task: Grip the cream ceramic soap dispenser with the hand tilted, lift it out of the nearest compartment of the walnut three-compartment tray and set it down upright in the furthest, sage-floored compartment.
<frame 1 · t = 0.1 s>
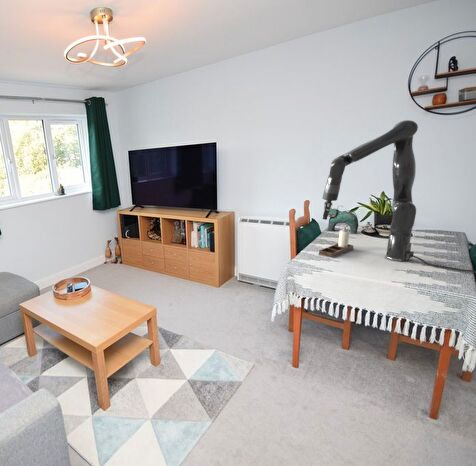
hand: (324, 217, 189), 22 cm above the table, tool pointing down, fingers open, 8 cm apart
dispenser: (342, 249, 196), resting on tray
tray: (336, 252, 193), on the table
ceramic cat: (341, 231, 231), on the table
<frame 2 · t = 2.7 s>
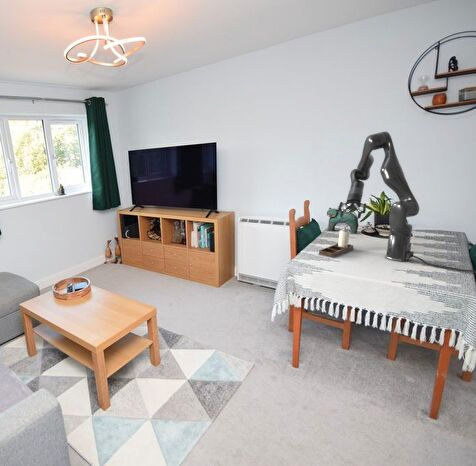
hand: (349, 217, 197), 19 cm above the table, tool tilted 40°, fingers open, 8 cm apart
nothing on the table moved.
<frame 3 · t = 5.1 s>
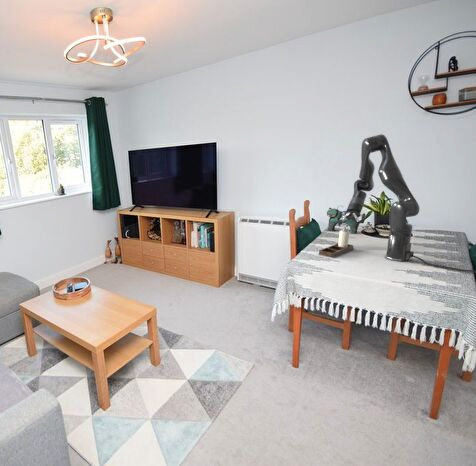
hand: (347, 226, 195), 14 cm above the table, tool tilted 45°, fingers open, 8 cm apart
nothing on the table moved.
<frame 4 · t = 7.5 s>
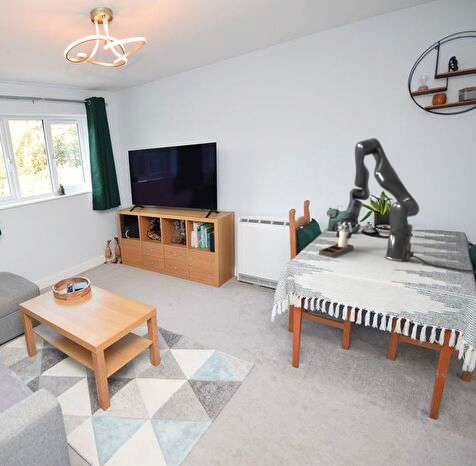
hand: (342, 237, 193), 9 cm above the table, tool tilted 45°, fingers closed on dispenser, 5 cm apart
dispenser: (342, 249, 196), resting on tray, touching gripper
everything else where it was.
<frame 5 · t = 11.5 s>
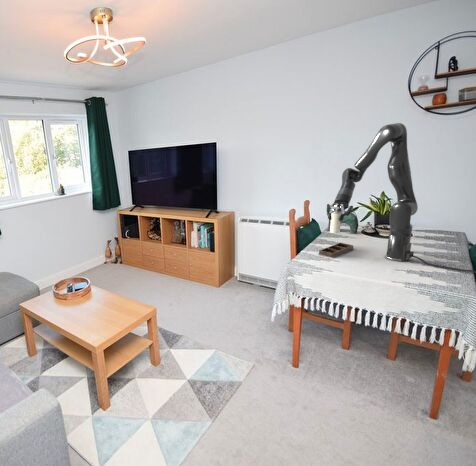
hand: (334, 219, 185), 22 cm above the table, tool tilted 45°, fingers closed on dispenser, 5 cm apart
dispenser: (334, 232, 188), point 14 cm above the table, touching gripper
everything else where it was.
when the fingers open (9 cm above the table, at t = 15.9 s): dispenser stays where it is, resting on tray.
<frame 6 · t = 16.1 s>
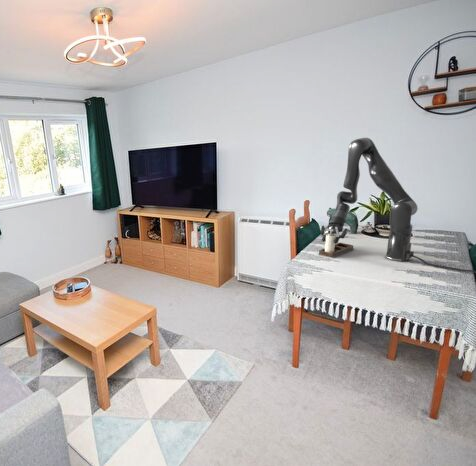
hand: (329, 242, 186), 9 cm above the table, tool tilted 45°, fingers open, 5 cm apart
dispenser: (329, 253, 190), point 1 cm above the table, touching tray
everything else where it was.
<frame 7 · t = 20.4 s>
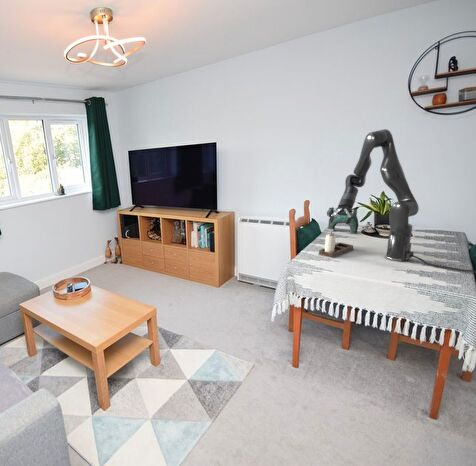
hand: (339, 222, 192), 18 cm above the table, tool tilted 45°, fingers open, 8 cm apart
nothing on the table moved.
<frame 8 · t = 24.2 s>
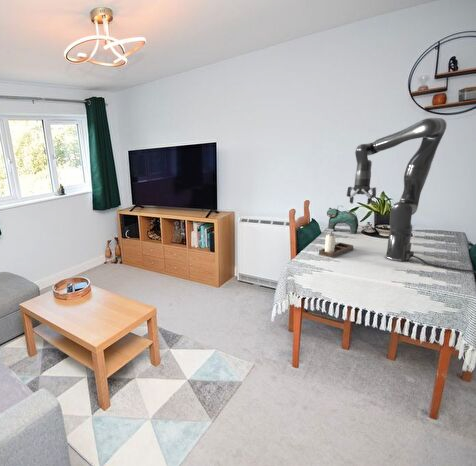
hand: (359, 203, 192), 28 cm above the table, tool pointing down, fingers open, 8 cm apart
nothing on the table moved.
at the end: dispenser 0.3 cm from the target spot in the tray, point 0.6 cm above the tray's base; dispenser tilted 0°; the gripper is holding nothing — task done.
